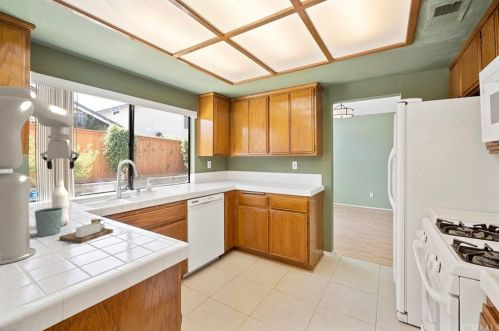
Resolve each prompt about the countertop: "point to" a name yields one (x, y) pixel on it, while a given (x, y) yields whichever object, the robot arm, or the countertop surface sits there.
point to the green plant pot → (48, 221)
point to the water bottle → (61, 201)
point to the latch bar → (90, 229)
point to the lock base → (73, 238)
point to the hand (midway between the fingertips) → (61, 168)
